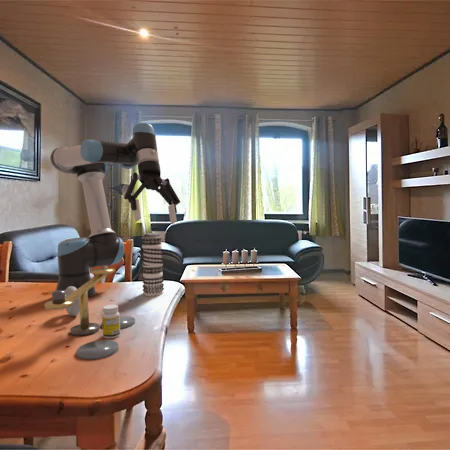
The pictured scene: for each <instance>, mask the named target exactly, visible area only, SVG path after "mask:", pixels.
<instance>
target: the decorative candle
mask: <svg viewBox="0 0 450 450" xmlns="http://www.w3.org/2000/svg"><path fill="white" fill-rule="evenodd" d="M141 239H142V245H141V249H140V252H141V253H142V254H141V258H140V259H141V261H142V263H141V266H142V268H143V273H142V275H143V277H141V278H142V283H143V284H142V291H143V293H142V295H143V296H146V297H148V296H149V297H156V296H160V295H163V294H164V293H165V292H164V290H165V287H164V283H163V282H164V275H163V267H162V266H164V261H163V260H164V257H162V256H163V255H164V253H163V252H164V249H163V248H162V247H163V246H162V235H161V234H159V233H158V232H146V233H144V235H143V236H142V237H141ZM155 295H156V296H155Z"/></svg>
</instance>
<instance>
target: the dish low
mask: <svg viewBox="0 0 450 450" xmlns="http://www.w3.org/2000/svg"><path fill="white" fill-rule="evenodd" d="M116 351H117V352H118V351H119V343H118V342H116V341H115V340H111V339H100V340H94V341H89V342H87V343H83V344H82V345H80V346H79V347H77V349H76V356H77V358H79V359H81V358H82V359H83V360H90V361H91V360H99V359H103V358H107V357H110V356H112V355H115V353H116ZM111 354H112V355H111Z"/></svg>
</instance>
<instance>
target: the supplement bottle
mask: <svg viewBox="0 0 450 450" xmlns="http://www.w3.org/2000/svg"><path fill="white" fill-rule="evenodd" d="M102 312H103V313H102V315H101V317H102V321H101V323H102V322H103V327H102V336H103V338H104V339H114V338H118V337H119V336H120V335H121V329H120V316H121V315H120V312H119V305H118V304H108V305H104V306H103V307H102Z"/></svg>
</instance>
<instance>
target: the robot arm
mask: <svg viewBox="0 0 450 450" xmlns="http://www.w3.org/2000/svg"><path fill="white" fill-rule="evenodd" d="M132 135H133V137H131V139H130V140H129V142H128V143H123V142H115V141H105V140H97V139H84V140H83V141H82V142H81V144H79V145H75V146H59V147H56V148H54V149H53V150H52V151H51V153H50V156H49V157H50V158H49V159H50V163H51V165H52V166H53V167H54V169H55V170H57V171H58V172H61V173H64V174H69V175H70V174H71V175H76V177H77V180H78V181H79V182H81V185H82V189H83V194H84V199H85V200H84V201H85V207H86V211H87V217H88V221H89V227H90V232H91V233H90V235H89V236H88V237H87V236H86V237H85V236H84V237H83V236H82V237H74V238H70V239H65V240H62V241H60V242H59V243H58V245H57V262H58V281H57V285H56V288H55V291H57V290H66V289H67V288H68V287H70V286H73V287H75V288H76V289H78V288H80V287H81V286H82V285H84V284H85V283H86V282H88V281H89V280H91V279H92V278H91V275H90V269H91V268H98V267H105V266H112V265H117V264H119V263H121V261H122V259H123V257H124V255H125V254H124V253H125V243H124V240H123V239H122V238H121V237H118V236H117V233H116V232H115V231H114V230H113V229H112V225H111V219H110V215H109V209H108V204H107V199H106V193H105V188H104V184H103V179H104V178H105V177H106V175H107V172H108V166H109V164H118V165H119V166H120V167H121V168H124V169H125V170H130V169H133V168H134V167H136V166H137V170H138V171H137V172H133V173H132V174H131V176H130V182H129V185H128V187H127V190H126V192H125V194H124V196H123V199H124V200H127V202H128V203H130V208H131V211H132V212H133V216H134V222H138V221H139V220H141V219H142V215H141V214H142V213H141V208H140V200H139V199H138V197H139V196H140V194H141V193H142V192H143V190H144V189H146V190H148V191H149V190H151V191H155V192H156V193H158V194H159V195H160V196H161V197H162V198H163V199H164V201H165V202H166V203H167V204H168V205H169V206H167V207H168V215H169V220H170V224H171V225H174V224H175V223H176V222H177V221H178V220H177V213H178V210H177V206H178V205H179V204H180V203H181V200H180V198H179V197H178V195H177V193H176V191H175V190H174V188H173V187H172V185H171V182H170V179H169V178H168V177H167V178H164V179H162V177H161V173H162V172H161V171H162V170H161V165H160V159H159V152H158V146H157V139H156V136H157V135H156V133H155V130H154V127H153V126H152V124H150V123H147V122H141V123H137V124H135V125H134V126H133V127H132ZM138 181H139V182H140V183H141V185H139V187H138V188H137V190H136V191H135V192H134V189H135V187H136V184H137V182H138ZM133 192H134V193H133ZM132 193H133V194H132ZM95 293H96V288H95V285H94V286H93V287H92V288H90V289H89V290H88V298H89V297H90V298H91V296H94V295H95Z"/></svg>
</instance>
